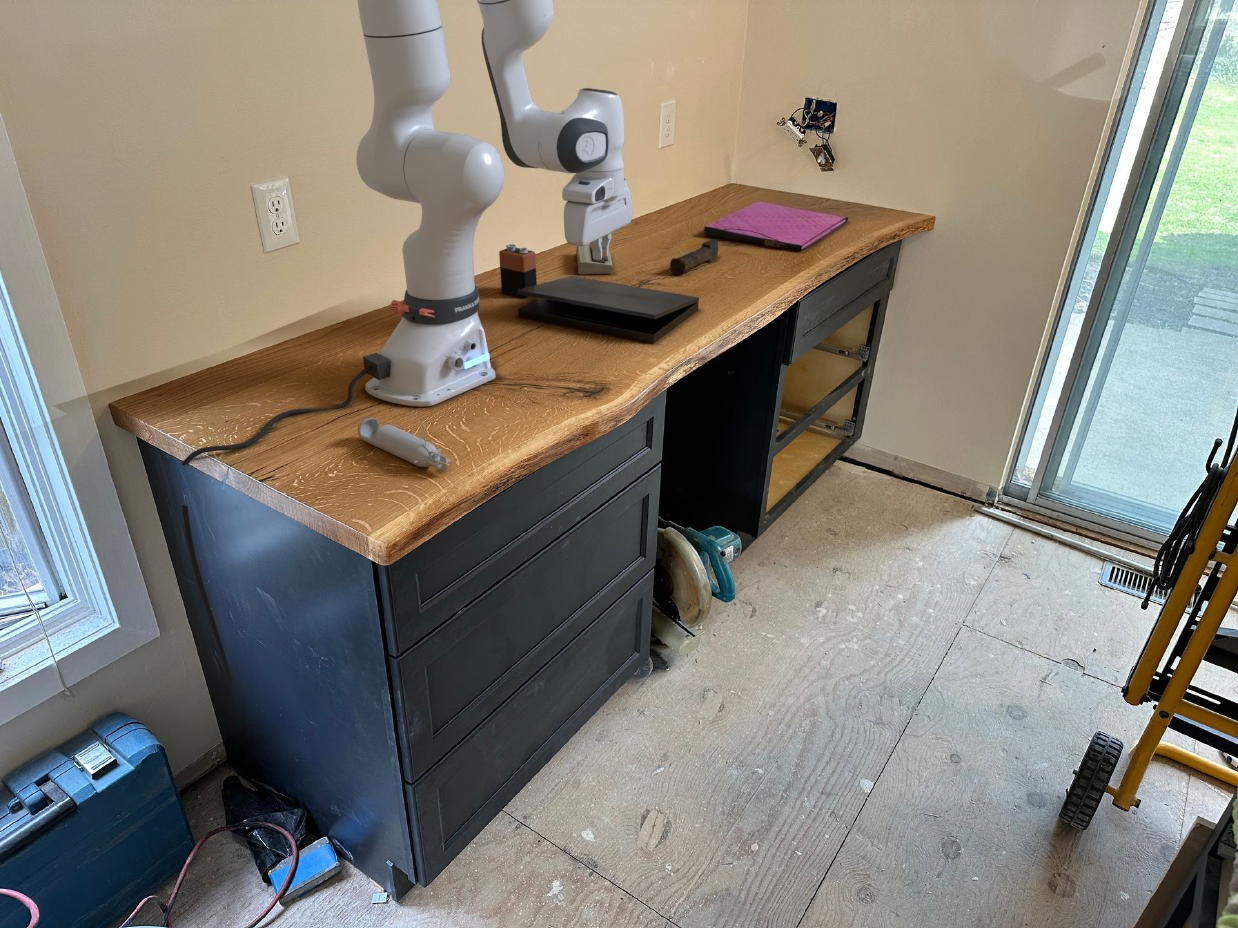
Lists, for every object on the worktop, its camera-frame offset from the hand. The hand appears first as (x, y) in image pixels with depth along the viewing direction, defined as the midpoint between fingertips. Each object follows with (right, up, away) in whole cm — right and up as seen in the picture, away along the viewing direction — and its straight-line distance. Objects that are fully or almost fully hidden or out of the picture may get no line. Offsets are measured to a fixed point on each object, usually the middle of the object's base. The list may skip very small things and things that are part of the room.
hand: (600, 258), depth 166 cm
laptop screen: (+2, -6, +7) cm, 10 cm away
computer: (-2, +7, +38) cm, 39 cm away
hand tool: (+22, +7, +38) cm, 44 cm away
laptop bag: (+45, +23, +66) cm, 83 cm away
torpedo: (-27, -39, -43) cm, 64 cm away
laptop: (+2, -9, +9) cm, 13 cm away
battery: (-18, -3, +20) cm, 27 cm away
